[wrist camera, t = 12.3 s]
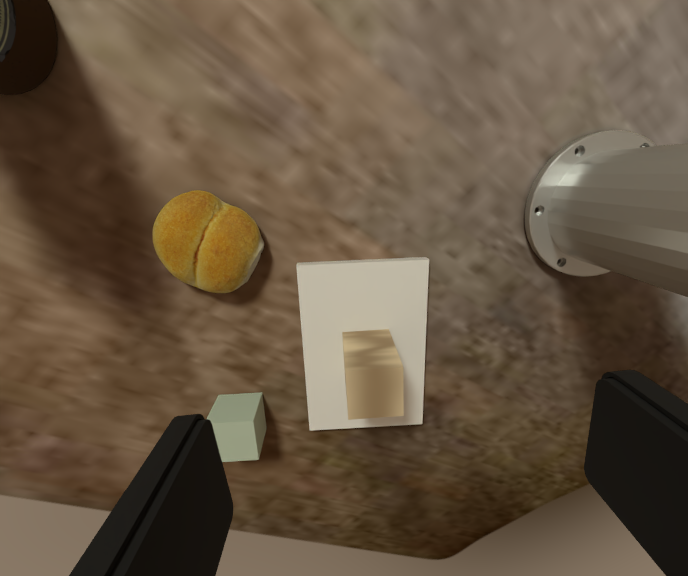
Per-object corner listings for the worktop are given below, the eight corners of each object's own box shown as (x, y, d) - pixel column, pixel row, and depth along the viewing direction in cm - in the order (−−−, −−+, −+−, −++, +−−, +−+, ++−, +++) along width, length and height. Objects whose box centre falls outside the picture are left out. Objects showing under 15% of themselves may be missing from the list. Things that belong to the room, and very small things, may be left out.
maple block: (388, 329, 34) (403, 367, 27) (389, 369, 35) (403, 415, 28) (342, 332, 33) (345, 371, 27) (344, 373, 35) (348, 419, 28)
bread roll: (179, 175, 30) (158, 175, 26) (276, 224, 31) (268, 231, 28) (148, 259, 32) (123, 270, 28) (240, 301, 33) (228, 317, 30)
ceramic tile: (426, 257, 33) (429, 259, 32) (420, 417, 38) (422, 424, 37) (297, 262, 32) (296, 265, 31) (310, 424, 38) (309, 430, 37)
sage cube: (262, 392, 36) (253, 420, 32) (266, 427, 38) (258, 459, 34) (218, 394, 36) (204, 423, 32) (225, 430, 38) (211, 462, 33)
